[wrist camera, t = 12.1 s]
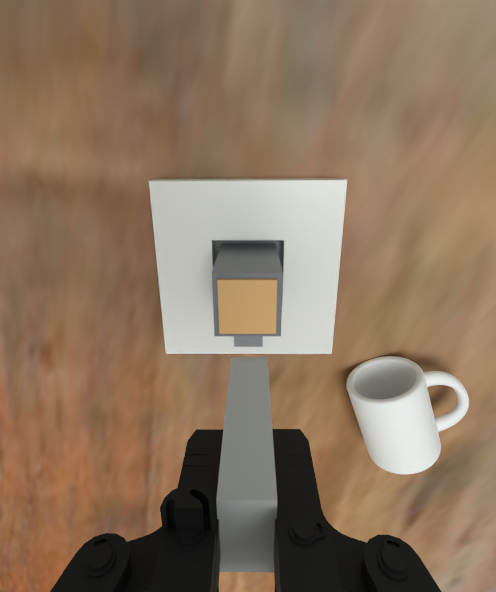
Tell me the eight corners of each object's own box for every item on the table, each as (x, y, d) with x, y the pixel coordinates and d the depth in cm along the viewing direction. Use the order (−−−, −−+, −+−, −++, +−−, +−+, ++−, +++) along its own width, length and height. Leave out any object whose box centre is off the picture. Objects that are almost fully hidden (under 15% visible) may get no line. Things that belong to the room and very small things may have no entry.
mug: (359, 431, 47) (380, 483, 40) (338, 368, 44) (356, 412, 36) (455, 404, 45) (495, 454, 38) (441, 336, 42) (481, 376, 35)
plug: (221, 242, 38) (211, 274, 28) (275, 242, 38) (283, 274, 28) (223, 293, 40) (213, 338, 30) (274, 292, 40) (281, 338, 30)
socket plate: (155, 178, 36) (147, 181, 33) (341, 178, 36) (348, 180, 33) (170, 342, 43) (164, 356, 40) (327, 342, 42) (332, 356, 39)
